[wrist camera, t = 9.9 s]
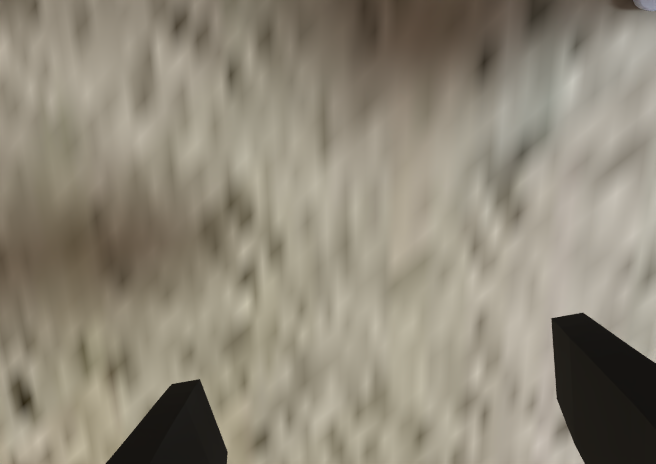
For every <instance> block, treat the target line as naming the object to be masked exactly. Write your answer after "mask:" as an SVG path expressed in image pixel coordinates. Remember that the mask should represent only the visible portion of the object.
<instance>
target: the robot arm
mask: <svg viewBox="0 0 656 464" xmlns="http://www.w3.org/2000/svg"><path fill="white" fill-rule="evenodd" d="M633 1H634V3H635V5H636V6H637V7H638V8H640V9H643V10H648V11H656V0H633ZM551 319H552V334H553V348H554V363H555V378H556V393H557V400H558V403H559V405H560V408H561V411H562V413H563V416H564V418H565V421H566V424H567V426H568V429H569V431H570V434H571V436H572V439H573V441H574V443H575V446H576V448H577V449H578V451H579V453H580V455H581V457H582V459H583V461H584V463H585V464H656V363H654V362H653V361H651V360H650V359H648V358H647V357H645V356H644V355H642V354H641V353H639V352H638V351H637V350H635V349H634V348H632V347H631V346H629V345H628V344H627V343H625V342H624V341H622V340H621V339H619V338H618V337H617V336H615V335H614V334H612V333H611V332H610V331H608V330H607V329H605V328H604V327H603V326H601V325H600V324H598V323H597V322H596V321H594V320H593V319H591V318H590V317H588V316H587V315H586V314H584V313H579V314H573V315H567V316H562V317H556V318H551ZM106 464H227V449H226V447H225V444H224V441H223V439H222V436H221V434H220V431H219V428H218V426H217V423H216V420H215V418H214V415H213V413H212V410H211V407H210V405H209V402H208V399H207V397H206V394H205V392H204V389H203V386H202V384H201V381H200V379H199V380H193V381H187V382H181V383H176V384H172V385H171V386H170V387H169V388H168V389H167V390H166V391H165V393H164V394H163V395H162V396H161V397H160V399H159V400H158V401H157V402H156V403H155V405H154V406H153V407H152V408H151V410H150V411H149V412H148V413H147V415H146V416H145V417H144V418H143V419H142V421H141V422H140V423H139V424H138V426H137V427H136V428H135V429H134V431H133V432H132V433H131V434H130V435H129V437H128V438H127V439H126V440H125V441H124V443H123V444H122V445H121V446H120V447H119V449H118V450H117V451H116V452H115V453H114V455H113V456H112V457H111V458H110V459H109V460H108V461H107V463H106Z"/></svg>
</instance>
